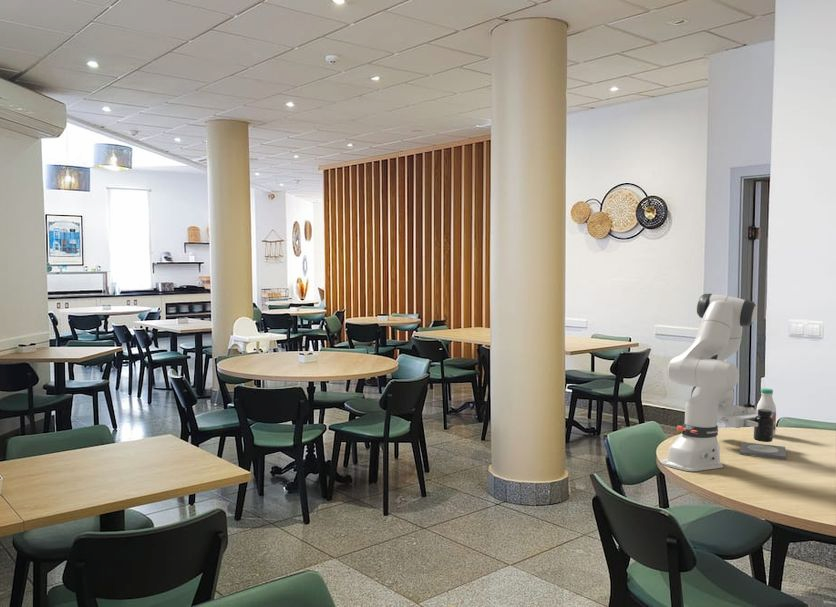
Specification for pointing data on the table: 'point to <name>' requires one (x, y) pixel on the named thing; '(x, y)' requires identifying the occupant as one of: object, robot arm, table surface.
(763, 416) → the supplement bottle
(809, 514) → the table surface
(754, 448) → the charging pad
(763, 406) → the milk bottle
